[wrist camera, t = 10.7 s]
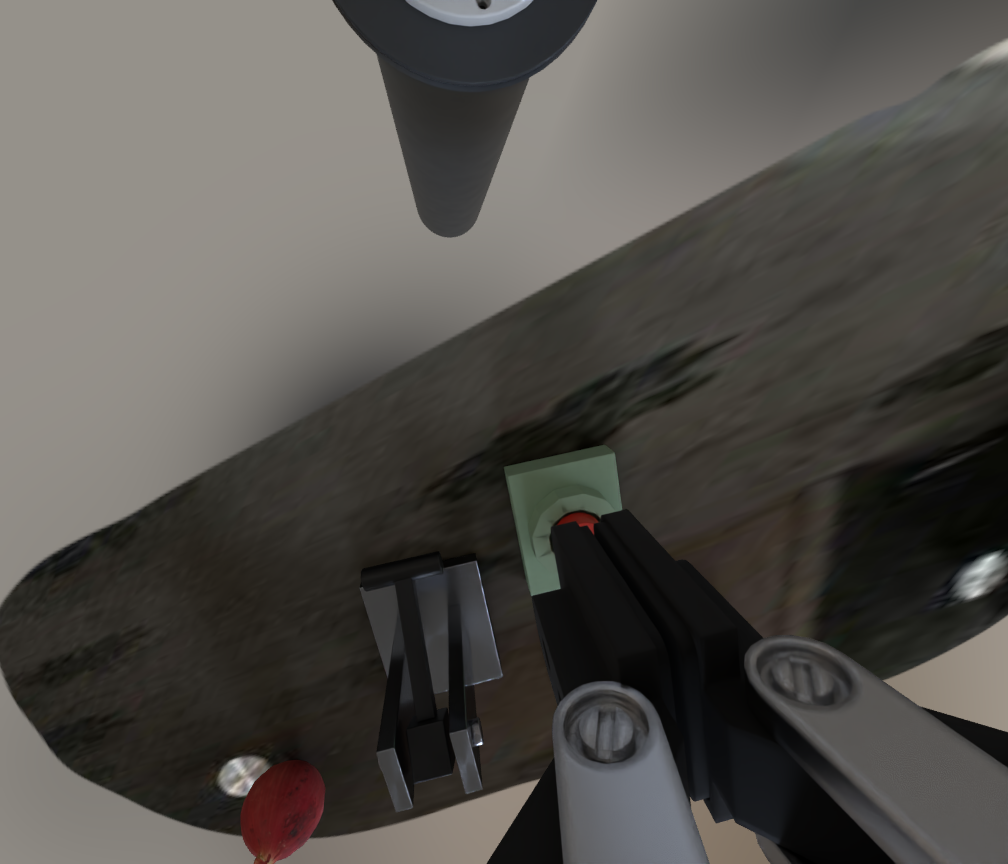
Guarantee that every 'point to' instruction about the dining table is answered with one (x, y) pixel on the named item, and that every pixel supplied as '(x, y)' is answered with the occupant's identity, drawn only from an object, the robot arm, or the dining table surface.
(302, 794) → the onion
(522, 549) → the button housing
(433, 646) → the lever bracket
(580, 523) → the red button
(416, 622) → the press lever
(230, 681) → the dining table surface
